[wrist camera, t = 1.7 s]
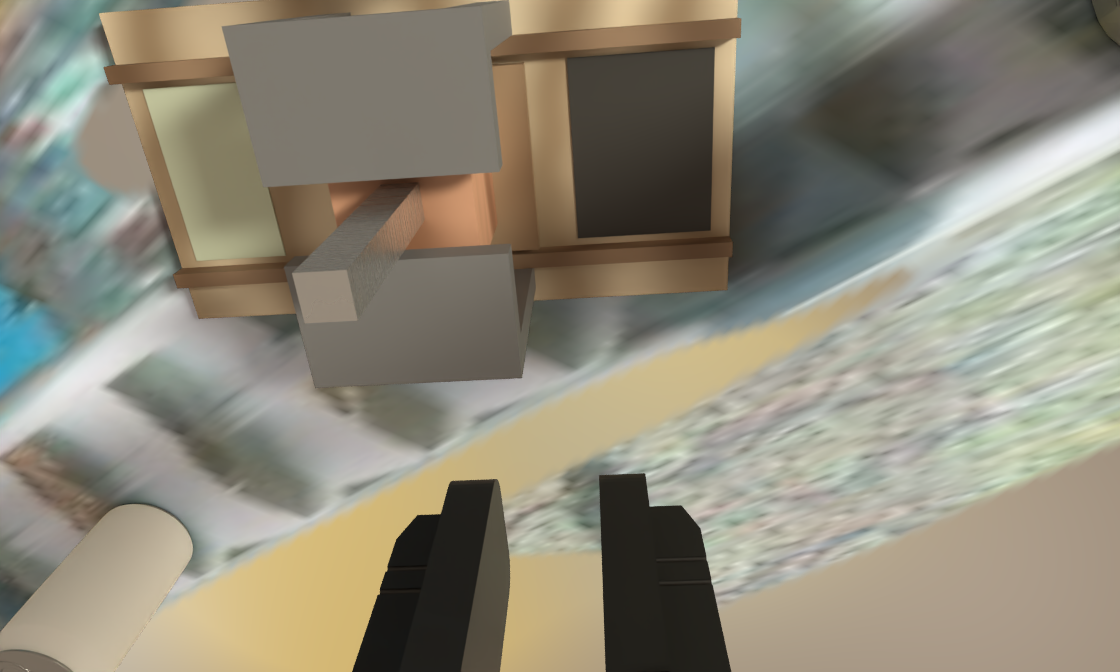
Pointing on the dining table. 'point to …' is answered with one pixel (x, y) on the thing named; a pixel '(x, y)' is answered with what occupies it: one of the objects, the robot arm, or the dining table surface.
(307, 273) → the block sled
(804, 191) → the dining table surface
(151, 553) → the can
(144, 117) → the tunnel track
